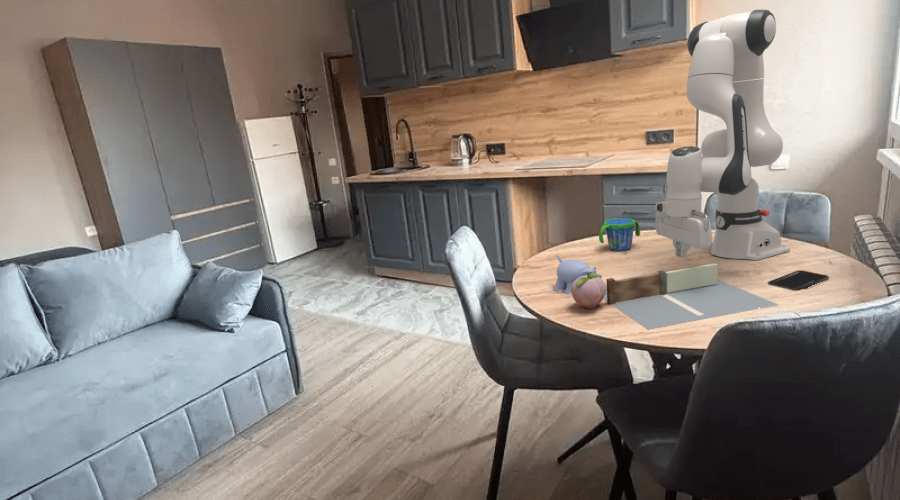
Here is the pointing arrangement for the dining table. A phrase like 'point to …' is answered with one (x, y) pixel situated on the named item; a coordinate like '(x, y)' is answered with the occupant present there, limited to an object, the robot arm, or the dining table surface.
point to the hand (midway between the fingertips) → (681, 256)
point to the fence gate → (691, 277)
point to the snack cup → (619, 233)
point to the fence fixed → (635, 287)
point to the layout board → (690, 305)
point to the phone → (798, 280)
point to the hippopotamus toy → (570, 273)
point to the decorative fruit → (588, 290)
